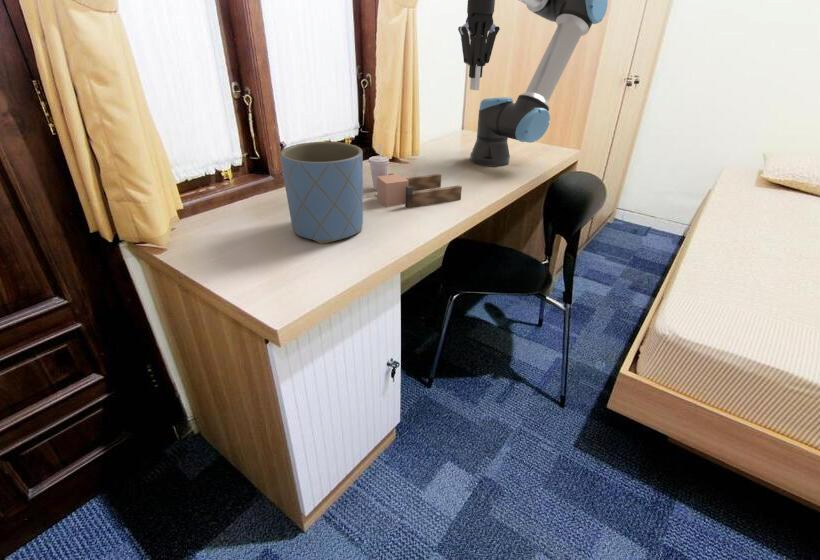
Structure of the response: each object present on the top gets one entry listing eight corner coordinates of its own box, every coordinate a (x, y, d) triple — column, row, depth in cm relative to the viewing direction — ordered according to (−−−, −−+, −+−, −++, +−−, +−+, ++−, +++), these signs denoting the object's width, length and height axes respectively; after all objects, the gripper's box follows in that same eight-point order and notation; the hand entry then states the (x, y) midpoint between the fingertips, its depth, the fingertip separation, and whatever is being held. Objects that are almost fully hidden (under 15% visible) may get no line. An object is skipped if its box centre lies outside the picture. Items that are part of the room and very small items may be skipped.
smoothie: (386, 193, 136) (386, 147, 129) (367, 191, 137) (365, 146, 130) (391, 186, 142) (391, 142, 135) (372, 184, 143) (371, 141, 136)
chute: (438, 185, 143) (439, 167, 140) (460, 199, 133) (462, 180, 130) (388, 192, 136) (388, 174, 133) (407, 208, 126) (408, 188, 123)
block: (398, 195, 135) (398, 173, 131) (408, 203, 129) (408, 180, 126) (377, 199, 132) (376, 176, 128) (386, 206, 127) (386, 183, 123)
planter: (380, 230, 112) (379, 152, 102) (318, 253, 101) (309, 168, 90) (336, 209, 124) (331, 137, 113) (276, 228, 112) (264, 149, 102)
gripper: (493, -2, 126) (485, 86, 138) (454, -3, 121) (449, 89, 133) (509, -3, 120) (499, 90, 132) (469, -4, 115) (462, 92, 127)
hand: (474, 89), depth 132 cm, fingers closed
